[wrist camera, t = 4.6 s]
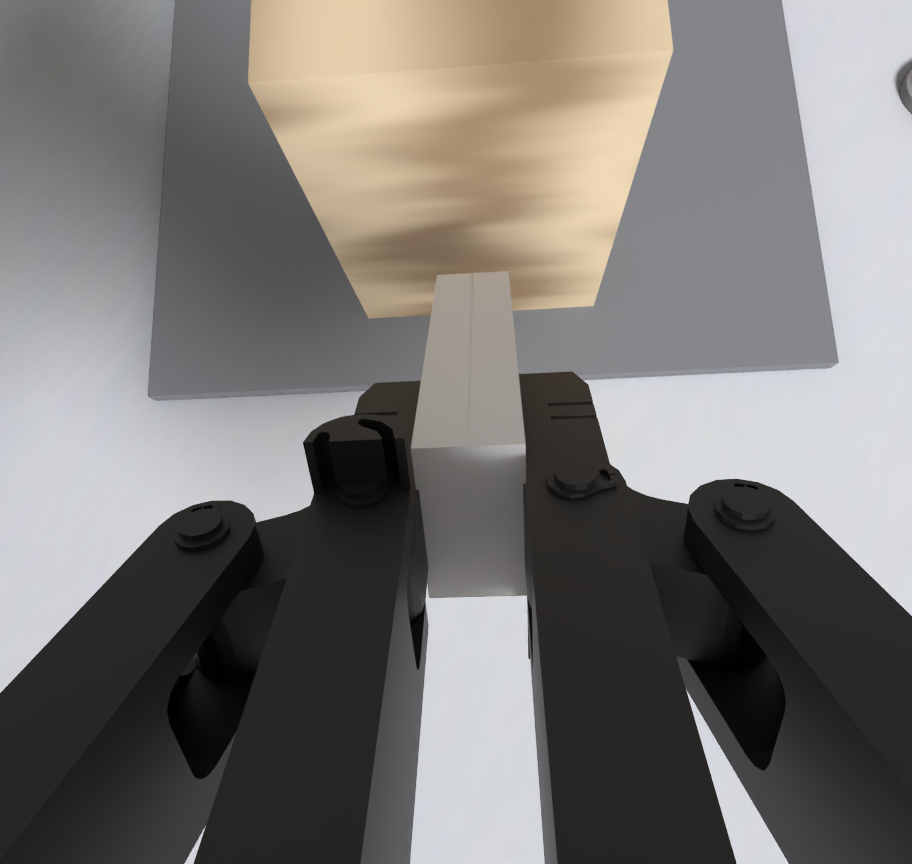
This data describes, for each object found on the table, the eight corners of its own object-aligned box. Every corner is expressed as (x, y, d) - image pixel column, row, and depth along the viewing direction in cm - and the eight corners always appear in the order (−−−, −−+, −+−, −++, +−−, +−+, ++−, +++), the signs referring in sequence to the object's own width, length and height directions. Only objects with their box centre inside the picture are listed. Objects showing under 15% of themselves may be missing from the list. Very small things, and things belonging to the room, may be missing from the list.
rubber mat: (155, 400, 26) (147, 396, 25) (186, -49, 30) (179, -62, 29) (830, 368, 24) (838, 362, 23) (758, -101, 28) (763, -115, 28)
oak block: (368, 318, 25) (248, 82, 13) (368, 234, 26) (254, -59, 14) (593, 306, 24) (673, 50, 13) (586, 220, 25) (656, -95, 14)
